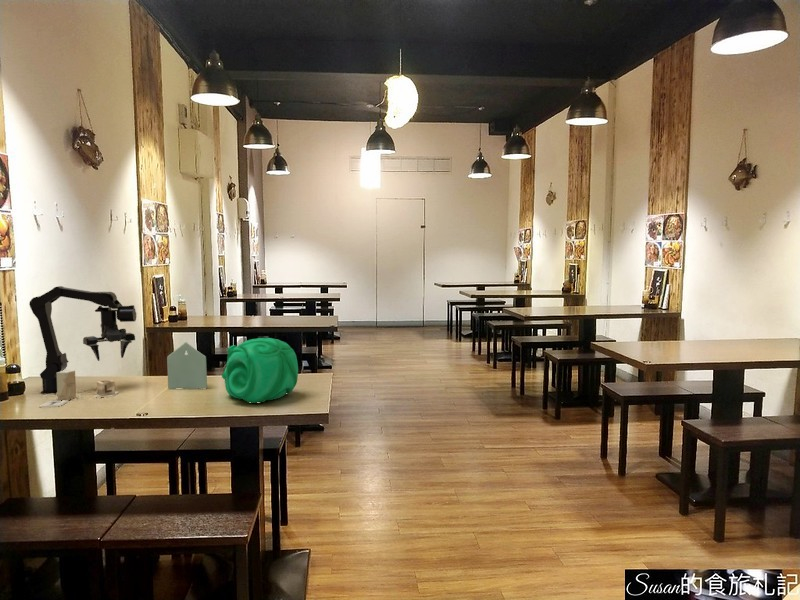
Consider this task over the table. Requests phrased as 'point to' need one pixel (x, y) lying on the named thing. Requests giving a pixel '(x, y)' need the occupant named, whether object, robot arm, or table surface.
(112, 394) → the pad
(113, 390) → the letter cube
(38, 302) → the robot arm
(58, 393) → the box
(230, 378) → the sculpture
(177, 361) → the house-shaped tag
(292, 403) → the table surface
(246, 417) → the table surface
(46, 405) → the pad
